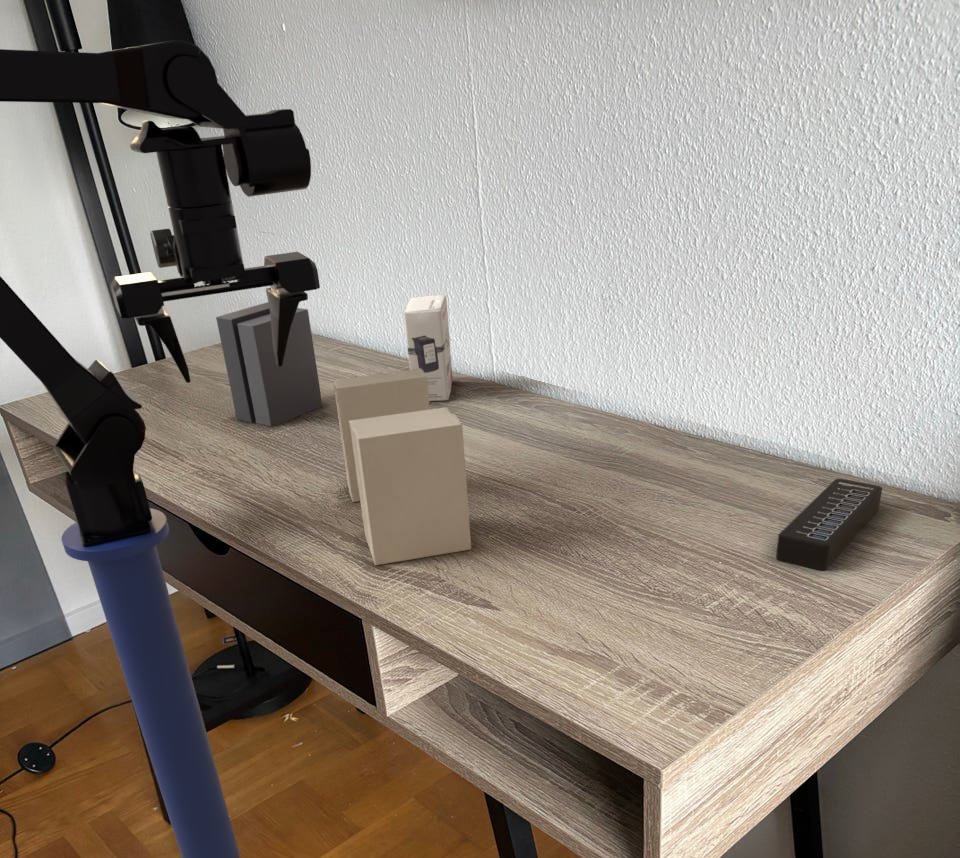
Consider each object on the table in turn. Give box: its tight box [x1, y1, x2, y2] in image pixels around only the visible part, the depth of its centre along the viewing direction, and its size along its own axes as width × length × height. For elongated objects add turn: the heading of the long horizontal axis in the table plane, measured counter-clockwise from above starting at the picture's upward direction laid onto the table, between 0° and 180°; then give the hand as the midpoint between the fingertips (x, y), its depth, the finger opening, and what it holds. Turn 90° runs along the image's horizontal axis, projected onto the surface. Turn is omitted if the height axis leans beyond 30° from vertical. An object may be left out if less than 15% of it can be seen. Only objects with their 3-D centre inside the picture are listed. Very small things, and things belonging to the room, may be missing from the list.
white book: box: [332, 368, 431, 503], centre depth 97 cm, size 9×3×12 cm, turn 104°
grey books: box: [216, 301, 324, 427], centre depth 121 cm, size 10×6×13 cm
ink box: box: [403, 294, 454, 402], centre depth 125 cm, size 8×5×12 cm, turn 178°
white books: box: [349, 406, 472, 566], centre depth 86 cm, size 9×6×12 cm
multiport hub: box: [775, 478, 883, 571], centre depth 85 cm, size 4×14×2 cm, turn 143°
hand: (234, 373), depth 94 cm, fingers open, 9 cm apart
